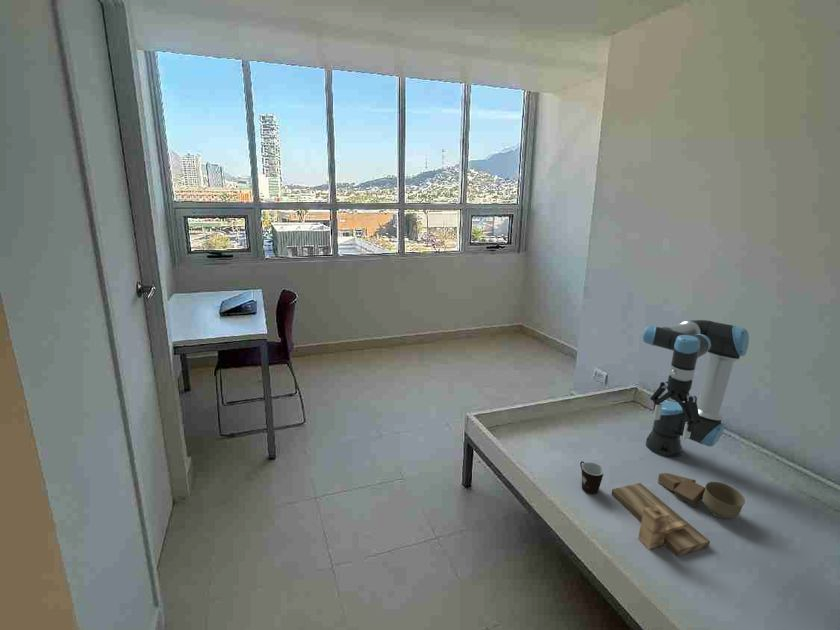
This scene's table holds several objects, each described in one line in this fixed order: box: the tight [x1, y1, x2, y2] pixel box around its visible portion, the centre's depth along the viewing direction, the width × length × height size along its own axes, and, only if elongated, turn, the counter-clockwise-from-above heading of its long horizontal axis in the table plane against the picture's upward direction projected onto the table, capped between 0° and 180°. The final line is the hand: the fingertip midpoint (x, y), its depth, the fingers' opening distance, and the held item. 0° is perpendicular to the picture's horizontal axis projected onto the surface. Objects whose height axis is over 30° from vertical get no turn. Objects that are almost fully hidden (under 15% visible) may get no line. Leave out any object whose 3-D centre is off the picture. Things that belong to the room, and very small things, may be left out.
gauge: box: [637, 505, 687, 550], centre depth 152 cm, size 18×5×14 cm, turn 107°
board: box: [611, 482, 711, 557], centre depth 163 cm, size 14×32×2 cm, turn 17°
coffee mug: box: [579, 460, 605, 495], centre depth 179 cm, size 12×9×10 cm
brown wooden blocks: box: [657, 472, 705, 508], centre depth 177 cm, size 8×13×18 cm
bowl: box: [702, 481, 746, 519], centre depth 165 cm, size 13×13×10 cm
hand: (670, 428), depth 164 cm, fingers open, 13 cm apart
